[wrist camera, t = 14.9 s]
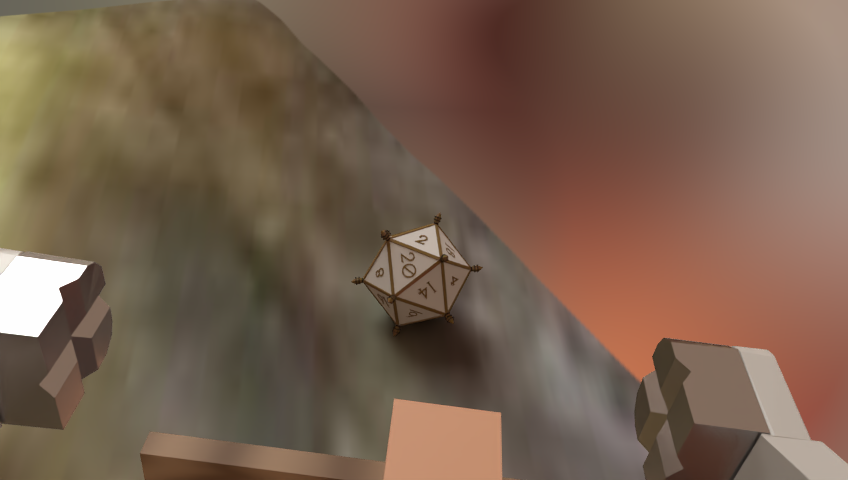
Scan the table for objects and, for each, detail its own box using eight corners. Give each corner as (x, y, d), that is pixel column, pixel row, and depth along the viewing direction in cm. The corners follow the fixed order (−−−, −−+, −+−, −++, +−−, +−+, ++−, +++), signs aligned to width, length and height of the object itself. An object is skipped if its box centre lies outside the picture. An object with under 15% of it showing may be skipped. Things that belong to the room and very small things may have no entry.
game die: (427, 357, 60) (491, 334, 51) (329, 328, 57) (379, 298, 48) (445, 256, 63) (507, 219, 55) (354, 223, 60) (405, 179, 52)
